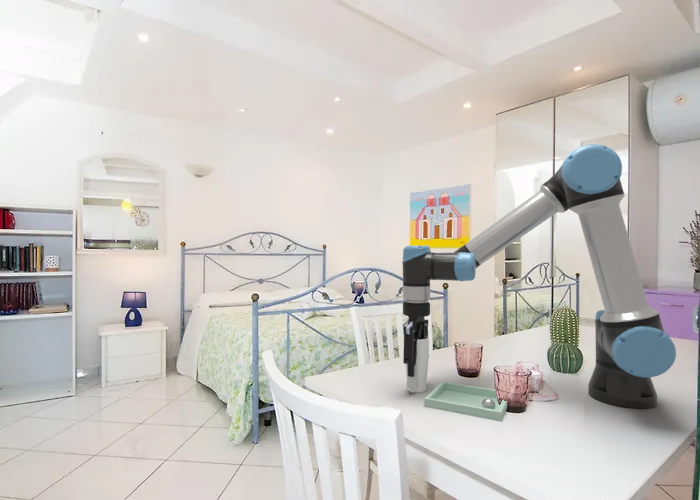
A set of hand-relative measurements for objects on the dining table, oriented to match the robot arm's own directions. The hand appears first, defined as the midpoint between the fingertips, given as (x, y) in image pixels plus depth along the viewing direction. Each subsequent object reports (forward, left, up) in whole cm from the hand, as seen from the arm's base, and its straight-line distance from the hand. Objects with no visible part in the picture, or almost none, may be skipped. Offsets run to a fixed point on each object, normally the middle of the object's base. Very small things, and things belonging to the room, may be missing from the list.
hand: (416, 384), depth 113 cm
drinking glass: (0, 0, -2) cm, 2 cm away
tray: (-15, +3, -2) cm, 16 cm away
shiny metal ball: (-21, +7, -1) cm, 22 cm away
